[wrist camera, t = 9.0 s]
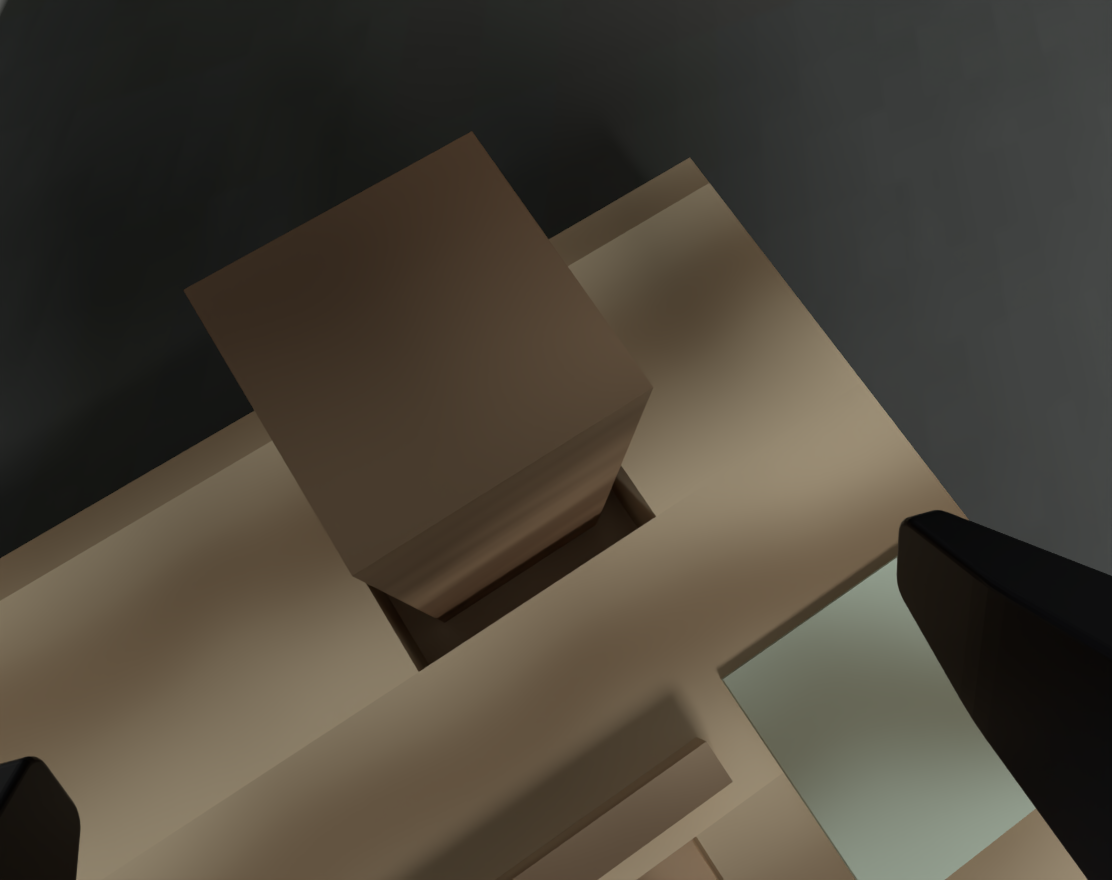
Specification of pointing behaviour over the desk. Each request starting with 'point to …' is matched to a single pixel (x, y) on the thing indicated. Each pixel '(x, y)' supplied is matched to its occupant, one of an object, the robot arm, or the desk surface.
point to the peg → (431, 379)
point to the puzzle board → (536, 640)
